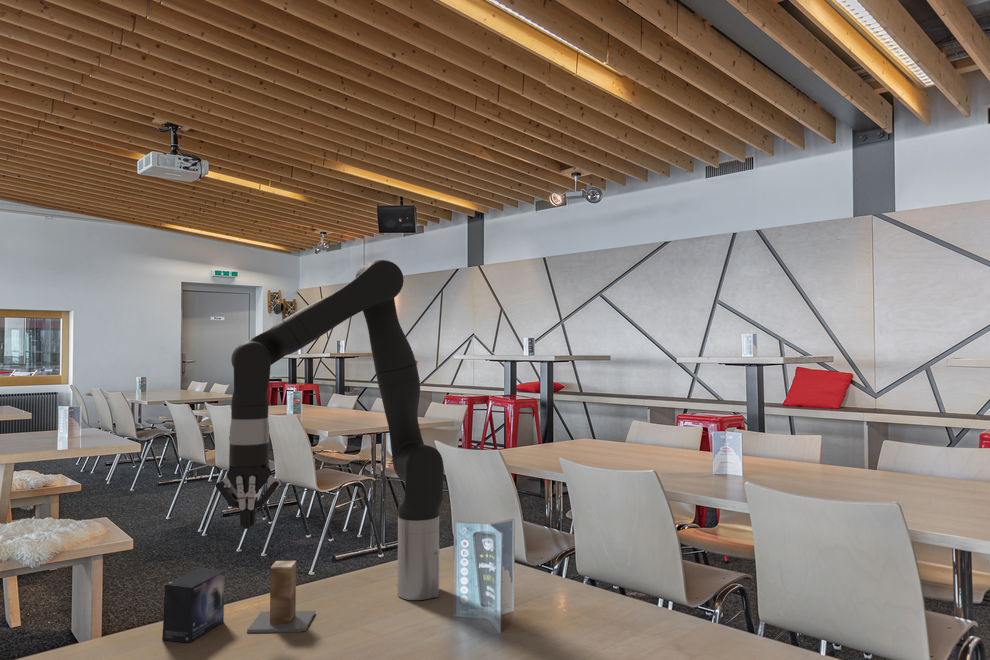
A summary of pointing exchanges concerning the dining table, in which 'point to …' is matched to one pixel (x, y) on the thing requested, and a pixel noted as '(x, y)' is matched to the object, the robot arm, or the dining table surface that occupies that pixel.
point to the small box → (193, 604)
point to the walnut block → (283, 592)
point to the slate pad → (297, 624)
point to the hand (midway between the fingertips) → (248, 527)
